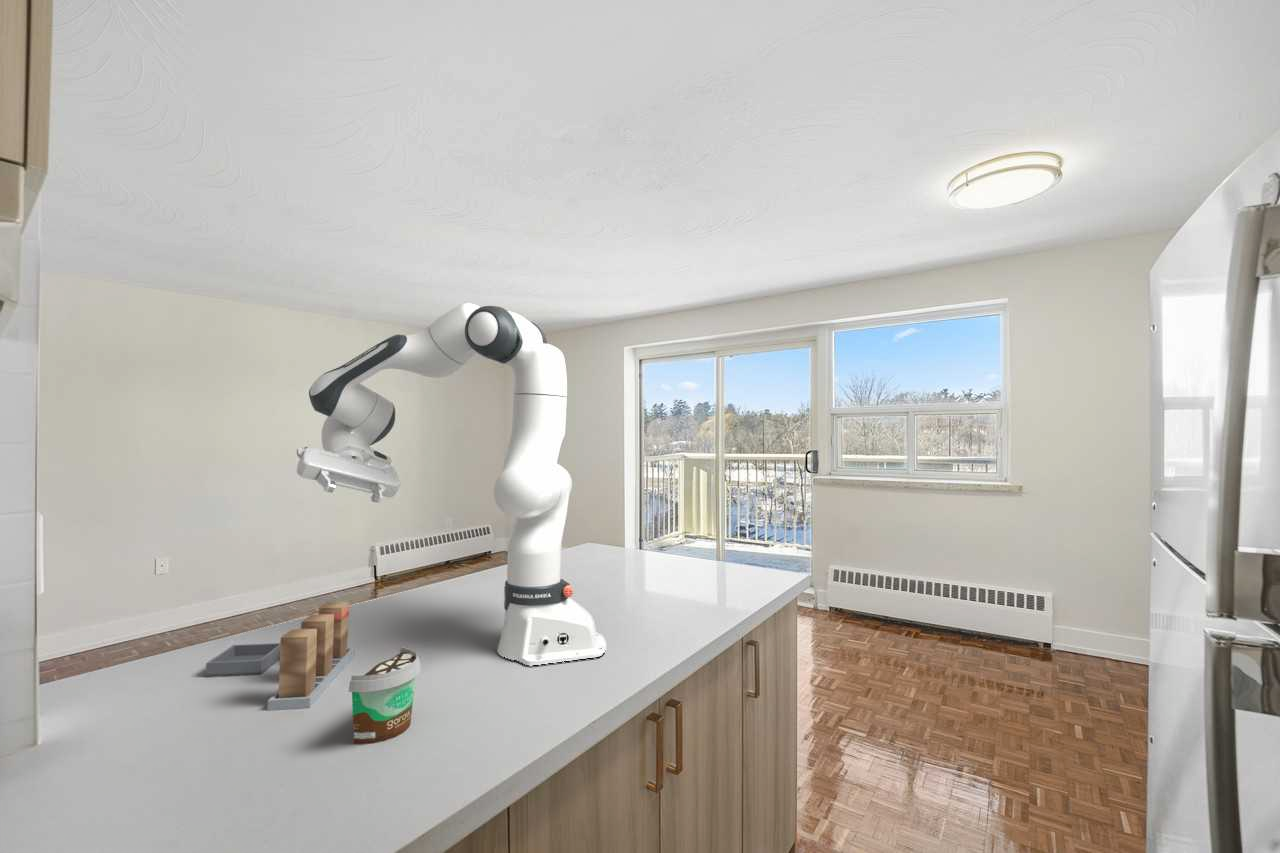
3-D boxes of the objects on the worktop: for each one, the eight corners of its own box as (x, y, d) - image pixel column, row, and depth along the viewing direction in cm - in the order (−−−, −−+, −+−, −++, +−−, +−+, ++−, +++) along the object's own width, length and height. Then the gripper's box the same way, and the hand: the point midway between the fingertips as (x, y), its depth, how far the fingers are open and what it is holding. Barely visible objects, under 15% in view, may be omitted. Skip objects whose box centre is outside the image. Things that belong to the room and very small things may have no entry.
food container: (385, 754, 77) (387, 681, 78) (346, 749, 79) (348, 676, 79) (435, 712, 90) (437, 649, 90) (400, 708, 91) (402, 645, 91)
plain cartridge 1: (314, 694, 95) (317, 628, 95) (305, 705, 91) (307, 636, 91) (289, 695, 94) (291, 629, 95) (278, 706, 90) (280, 637, 91)
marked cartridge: (347, 657, 111) (349, 601, 111) (340, 665, 107) (342, 607, 107) (324, 658, 110) (326, 602, 111) (316, 666, 106) (318, 608, 106)
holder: (354, 655, 112) (354, 647, 112) (309, 707, 90) (310, 698, 90) (321, 656, 111) (321, 648, 111) (267, 710, 89) (267, 700, 89)
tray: (283, 655, 111) (283, 642, 111) (261, 674, 102) (261, 660, 102) (232, 657, 110) (233, 644, 110) (205, 677, 101) (206, 663, 101)
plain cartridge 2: (332, 674, 103) (334, 614, 103) (323, 683, 99) (325, 621, 99) (308, 675, 102) (310, 614, 103) (299, 685, 98) (301, 621, 99)
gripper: (302, 433, 117) (306, 469, 107) (397, 459, 131) (408, 493, 121) (289, 457, 119) (292, 495, 108) (385, 481, 132) (394, 516, 122)
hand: (354, 494), depth 115 cm, fingers open, 8 cm apart
